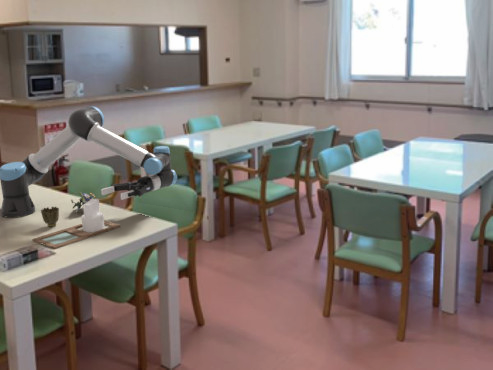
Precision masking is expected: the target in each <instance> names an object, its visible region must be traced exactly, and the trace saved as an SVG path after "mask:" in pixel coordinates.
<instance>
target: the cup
mask: <svg viewBox="0 0 493 370" xmlns="http://www.w3.org/2000/svg"><path fill="white" fill-rule="evenodd" d="M40 213H41V217H42V220H43V222H44V223H45V224H47V227H48V228H55V227H56V226H57V222H58V220H59V219H60V208H59V207H57V206H51V208H49V207H44V208H42V209H41V210H40Z"/></svg>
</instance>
